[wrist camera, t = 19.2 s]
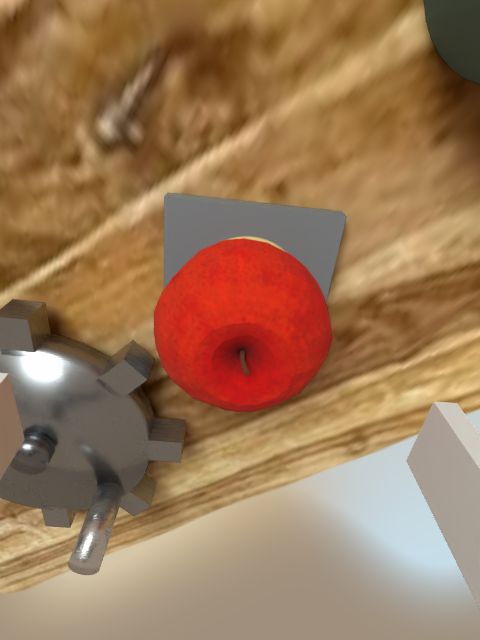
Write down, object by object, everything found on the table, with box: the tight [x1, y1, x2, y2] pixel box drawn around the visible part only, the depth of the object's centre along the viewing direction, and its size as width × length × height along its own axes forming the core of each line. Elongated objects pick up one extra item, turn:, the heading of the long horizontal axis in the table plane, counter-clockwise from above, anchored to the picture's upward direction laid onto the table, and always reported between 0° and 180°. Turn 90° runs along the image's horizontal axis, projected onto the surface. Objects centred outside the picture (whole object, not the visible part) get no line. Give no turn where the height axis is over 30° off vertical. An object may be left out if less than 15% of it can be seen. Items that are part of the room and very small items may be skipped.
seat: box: [164, 193, 347, 301], centre depth 21 cm, size 9×9×1 cm
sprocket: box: [0, 299, 186, 575], centre depth 23 cm, size 18×18×7 cm
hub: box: [10, 432, 56, 475], centre depth 25 cm, size 6×6×4 cm
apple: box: [154, 238, 332, 412], centre depth 18 cm, size 8×8×7 cm
